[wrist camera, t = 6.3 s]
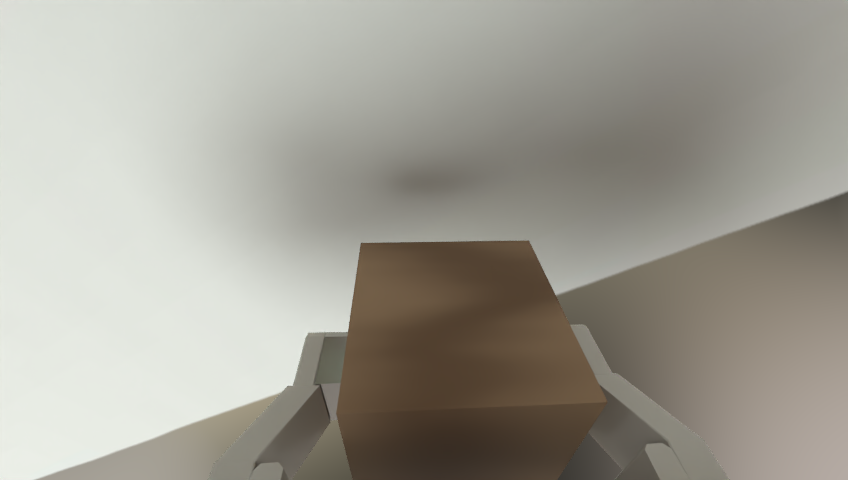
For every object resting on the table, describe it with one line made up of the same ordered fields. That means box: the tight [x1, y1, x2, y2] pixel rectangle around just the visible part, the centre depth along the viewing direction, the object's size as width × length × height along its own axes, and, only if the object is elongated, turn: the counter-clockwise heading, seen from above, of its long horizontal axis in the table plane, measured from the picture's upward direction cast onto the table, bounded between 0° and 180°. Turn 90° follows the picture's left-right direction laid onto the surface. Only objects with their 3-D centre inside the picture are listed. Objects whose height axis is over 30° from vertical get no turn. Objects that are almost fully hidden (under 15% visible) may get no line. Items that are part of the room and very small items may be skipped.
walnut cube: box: [336, 241, 608, 480], centre depth 10 cm, size 5×5×5 cm
